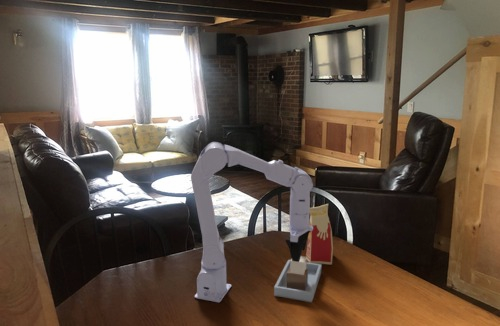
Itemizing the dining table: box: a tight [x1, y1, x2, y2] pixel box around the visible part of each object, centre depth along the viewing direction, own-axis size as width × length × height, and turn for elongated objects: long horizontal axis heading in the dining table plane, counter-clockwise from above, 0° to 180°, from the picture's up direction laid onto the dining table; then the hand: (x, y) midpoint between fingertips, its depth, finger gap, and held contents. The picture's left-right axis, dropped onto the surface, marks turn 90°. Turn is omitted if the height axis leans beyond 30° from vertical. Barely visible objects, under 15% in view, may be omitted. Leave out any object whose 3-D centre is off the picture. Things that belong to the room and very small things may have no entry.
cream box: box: [290, 255, 307, 275], centre depth 115 cm, size 4×4×4 cm
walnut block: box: [287, 267, 308, 291], centre depth 116 cm, size 4×6×5 cm
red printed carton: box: [305, 203, 334, 266], centre depth 133 cm, size 9×9×20 cm
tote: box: [273, 259, 323, 303], centre depth 119 cm, size 18×11×3 cm, turn 161°
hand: (298, 255), depth 115 cm, fingers open, 7 cm apart
